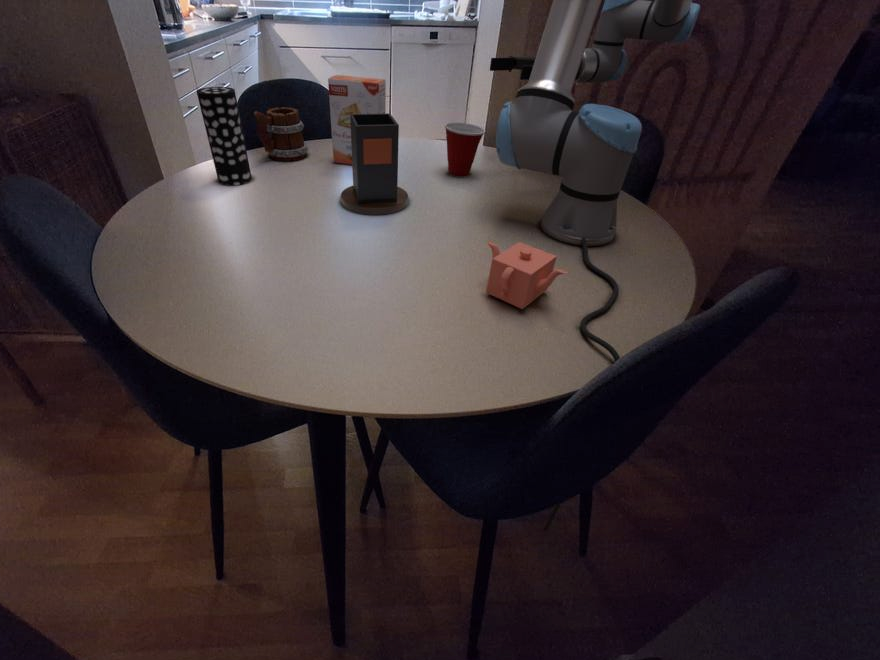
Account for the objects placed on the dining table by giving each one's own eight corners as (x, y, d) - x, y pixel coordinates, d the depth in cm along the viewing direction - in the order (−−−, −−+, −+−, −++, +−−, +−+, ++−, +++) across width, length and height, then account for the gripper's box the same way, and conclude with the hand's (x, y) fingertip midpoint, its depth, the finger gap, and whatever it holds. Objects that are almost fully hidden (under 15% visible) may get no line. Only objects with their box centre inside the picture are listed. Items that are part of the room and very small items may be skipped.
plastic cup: (481, 181, 117) (488, 132, 109) (441, 179, 117) (445, 130, 109) (477, 167, 125) (483, 121, 117) (439, 166, 125) (443, 120, 117)
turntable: (410, 215, 99) (410, 208, 98) (339, 215, 98) (339, 208, 97) (405, 189, 111) (405, 182, 110) (342, 188, 110) (342, 182, 109)
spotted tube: (253, 183, 111) (236, 93, 98) (219, 186, 109) (197, 94, 95) (249, 172, 117) (232, 86, 103) (217, 175, 114) (195, 87, 101)
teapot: (537, 327, 68) (551, 281, 63) (460, 290, 76) (467, 246, 70) (571, 297, 75) (586, 253, 69) (498, 266, 82) (506, 224, 77)
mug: (319, 153, 130) (307, 98, 118) (283, 174, 123) (267, 117, 112) (293, 145, 135) (279, 92, 124) (257, 164, 128) (239, 109, 117)
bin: (389, 185, 108) (390, 113, 97) (397, 201, 100) (399, 125, 90) (353, 187, 106) (350, 114, 96) (358, 203, 99) (355, 126, 88)
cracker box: (332, 163, 124) (326, 77, 110) (341, 157, 129) (335, 73, 115) (379, 169, 121) (378, 82, 108) (385, 163, 126) (386, 78, 112)
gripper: (602, 91, 108) (532, 95, 102) (540, 75, 125) (477, 77, 119) (613, 55, 103) (540, 57, 97) (547, 43, 120) (481, 44, 114)
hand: (505, 68), depth 108 cm, fingers open, 13 cm apart
